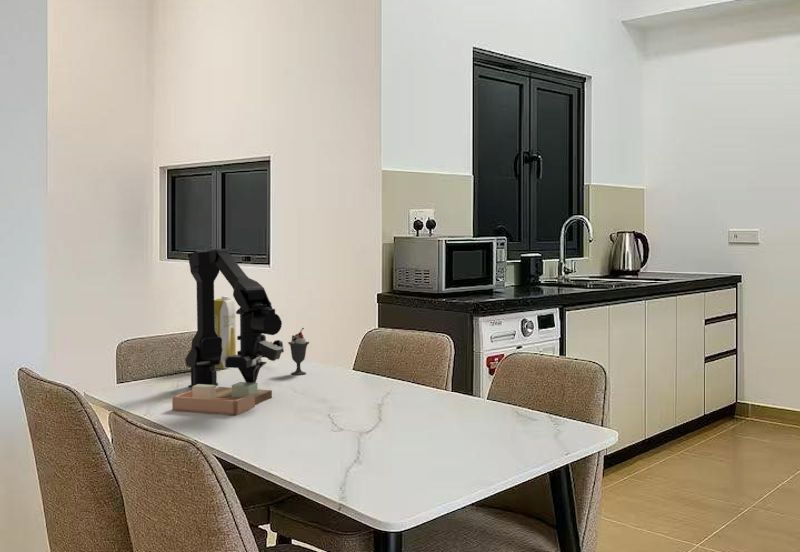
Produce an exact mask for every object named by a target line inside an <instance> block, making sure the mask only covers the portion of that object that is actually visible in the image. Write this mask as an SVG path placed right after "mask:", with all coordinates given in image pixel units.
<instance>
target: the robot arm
mask: <svg viewBox="0 0 800 552" xmlns="http://www.w3.org/2000/svg"><path fill="white" fill-rule="evenodd" d="M188 263H189V270H190V274H191V276H192V277H193V278H194V280H195V282H196V325H197V328H196V329H197V330H196V333H195V335H194V337H193V338H192V339H191V349H190V350H189V352H188V353H187V356H186V357H185V365H186V366H185V367H188V368H190V384H189V385H187V387H188V388H191V389H192V386H194V385H197V384H205V385H216V386H218V385H219V383H218V382H217V379H218V377H217V373H218V372H217V370H216V368H215V365H220V360H221V355H222V339H221V337H218V335H217V334H216V332H215V316H214V300H215V281H216V279H217V277H218V276H219V273H221V274H222V275H223V278H225V279H226V281H227V283H228V284H230V286H231V287H232V289H233V290H232V291H233V293H232V296H233V299H234V300H235V303H237V305H238V307H239V308H238V309H237V310H235V315H236V314H237V315H239V333H240V334H239V335H238V336H237V335H236V336H237V337H236V341H240V342H239V343H240V344H239V345H240V346H239V347H240V350H238V351H237V350H236V353H237V354H236V355H232V356H229V357H227V358H226V359H225V367H228V368H231V369H238V370H239V372H240V374H241V375H242V377H243V379H244V382H251V383H257V380H258V377H259V373H260V370H261V368H262V367H264V366H265V365H266V364H267V361H263V359H262V358H266V359H268V361H272V362H274V361H275V362H276V361H277V360H280V358H281V356H282V355H281V354H282V353H284V352H285V350H284V346H283V345H284V344H283V341H282V340H280V339H276V340H274V341H273V342H272V341H268V340H267V337H266V335H269V336H275V335H277V334H278V333H279V332H280V330H281V328H282V326H283V323H282V319H281V317H280V316H279V315H278V314H277V313H276V309H275V308H273V306H272V302H271V301H270V300H269V297H268V294H267V292H266V290H265V287H263V285H261V284H260V283H259V282H258V281H257V280H254V279H252V278H250V277H248V275H247V274H246V273H245V272H244V270H243V269H242V268H241V267H240V265H239V264H238V262H237V261H236V260H235V259H234V257H233V256H232V254H231V251H230V250H229V249H227V248H213V249H211V250H197V251H194V252H192V254H191V255H190V256H189V258H188Z"/></svg>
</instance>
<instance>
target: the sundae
mask: <svg viewBox="0 0 800 552" xmlns="http://www.w3.org/2000/svg"><path fill="white" fill-rule="evenodd" d="M304 329H305V328H304V327H302V328H301V329H300V331H299V332H298V333H296V334H294V335H292V336H291V341H289V342H288V341H287V344H288V345H289V346H290V353H291V359H292V361H294V363H296V370H295V371H293V372H290V374H291V375H292V376H304V375H306V374H307V372H305V371H303V370H302V369H301V363H302V362H304V360H305V359H306V352H307V348H308V345H309V344H310V342H309V341H306V339H305V337H304V334H303V332H302V331H303V330H304Z"/></svg>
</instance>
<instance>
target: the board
mask: <svg viewBox="0 0 800 552" xmlns="http://www.w3.org/2000/svg"><path fill="white" fill-rule="evenodd" d="M257 389H258V394H256V395H255V406H257V405H258V404H260V403H263V402H265V401H268V400H269V399H271V398H273V396H272V395H273V390H272V389H259V388H257ZM216 397H218V398H233V399H240V398H242V397H232V387H227V386H219V387H216Z"/></svg>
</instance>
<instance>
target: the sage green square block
mask: <svg viewBox="0 0 800 552" xmlns="http://www.w3.org/2000/svg"><path fill="white" fill-rule="evenodd" d="M231 388H232V397H245V396H247V395H249V394H252V393H253V394H255V395H256V394H258V389H259V388H258V382H256V383H251V382H246V381H239V382H236V383H234V384H231Z"/></svg>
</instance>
